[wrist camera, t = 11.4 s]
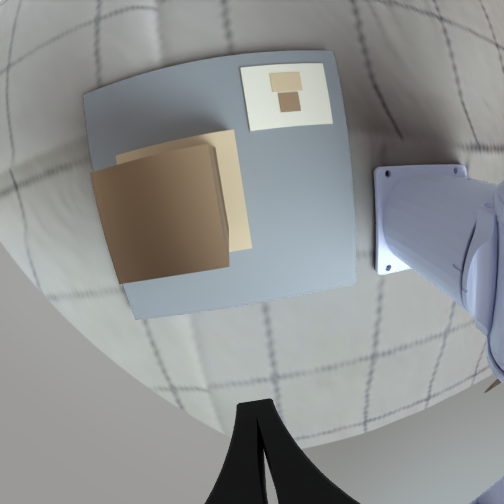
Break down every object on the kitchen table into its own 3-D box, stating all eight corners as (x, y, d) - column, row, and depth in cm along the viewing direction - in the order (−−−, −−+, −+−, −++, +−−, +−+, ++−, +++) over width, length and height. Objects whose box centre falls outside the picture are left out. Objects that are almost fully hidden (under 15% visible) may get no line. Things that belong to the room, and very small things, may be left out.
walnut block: (215, 147, 13) (207, 143, 8) (228, 227, 14) (229, 266, 9) (136, 164, 12) (90, 172, 8) (152, 241, 14) (119, 284, 9)
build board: (328, 55, 15) (352, 35, 11) (350, 278, 20) (373, 304, 16) (89, 97, 14) (59, 87, 10) (139, 312, 20) (124, 345, 16)
